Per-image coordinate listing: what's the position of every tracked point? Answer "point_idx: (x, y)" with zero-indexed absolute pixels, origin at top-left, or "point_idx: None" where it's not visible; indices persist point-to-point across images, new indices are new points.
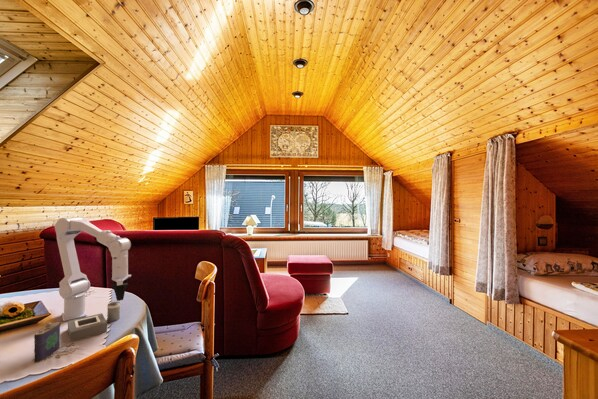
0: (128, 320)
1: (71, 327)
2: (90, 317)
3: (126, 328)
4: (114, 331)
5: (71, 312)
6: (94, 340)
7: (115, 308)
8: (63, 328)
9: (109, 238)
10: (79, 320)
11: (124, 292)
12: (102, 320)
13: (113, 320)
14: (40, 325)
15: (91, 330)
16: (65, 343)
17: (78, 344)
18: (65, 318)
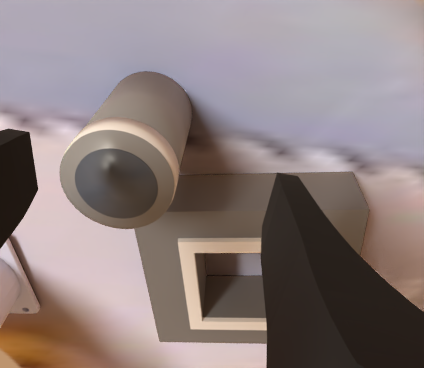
0: (251, 15)
1: None
2: (190, 274)
3: (411, 56)
4: (388, 133)
5: (3, 317)
6: (418, 230)
7: (177, 157)
8: (137, 309)
9: None
10: (200, 313)
11: (349, 245)
12: None
13: (191, 119)
14: (46, 357)
15: None
16: None
17: (396, 281)
18: (15, 306)
